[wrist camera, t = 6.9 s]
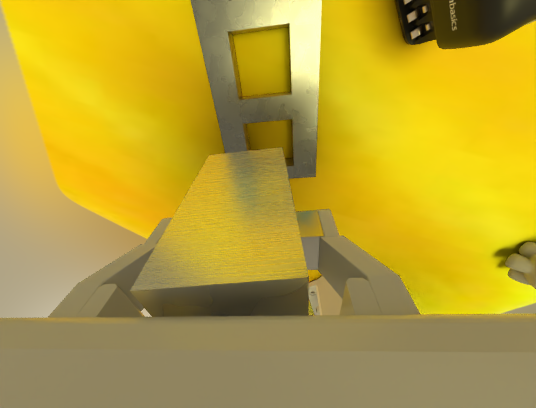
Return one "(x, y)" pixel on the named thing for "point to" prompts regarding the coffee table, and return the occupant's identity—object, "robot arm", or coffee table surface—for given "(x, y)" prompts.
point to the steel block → (230, 244)
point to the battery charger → (462, 20)
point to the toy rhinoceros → (523, 264)
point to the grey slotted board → (266, 105)
